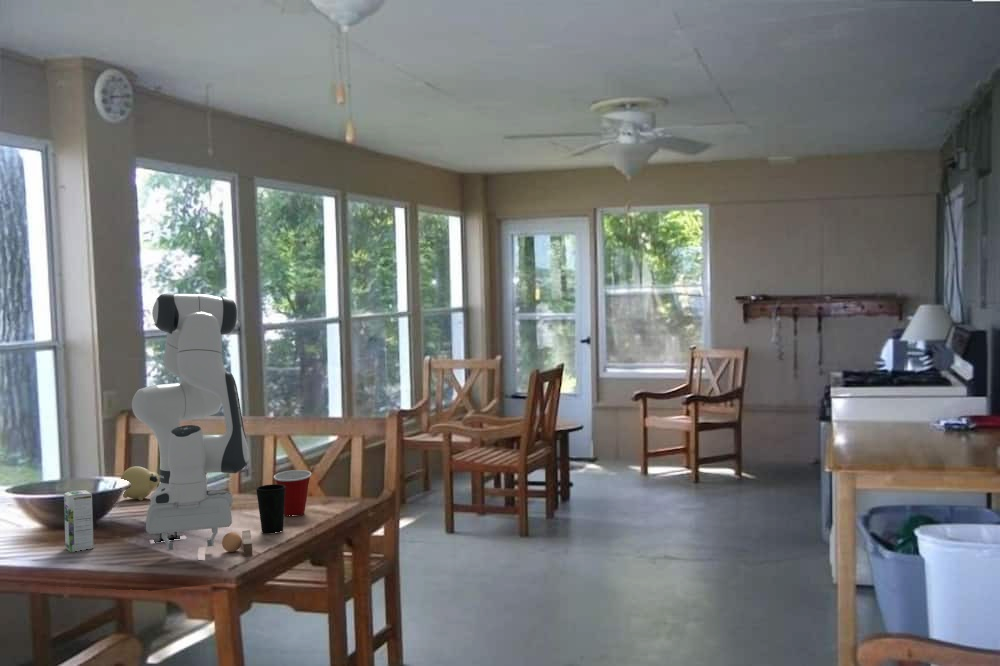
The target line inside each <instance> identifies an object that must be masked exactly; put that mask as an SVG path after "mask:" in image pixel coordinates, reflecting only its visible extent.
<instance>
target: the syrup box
mask: <svg viewBox="0 0 1000 666" xmlns="http://www.w3.org/2000/svg"><path fill="white" fill-rule="evenodd" d="M63 501H64V503H63V504H64V506H63V508H64V509H63V510H64V511H63V512H64V536H65V537H64V540H65V544H64V545H65V549H66V550H68V552H69V553H75V551H77V552H81V551H80V550H82V551H86V549H88V550H93V549H94V548H95V547H94V545H95V544H94V521H93V519H94V516H93V513H94V512H93V511H94V510H93V493H92V492H89V491H88V490H85V489H84V490H71V491H67V492H65V493H64V494H63ZM92 548H93V549H92Z"/></svg>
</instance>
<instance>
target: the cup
mask: <svg viewBox="0 0 1000 666" xmlns="http://www.w3.org/2000/svg"><path fill="white" fill-rule="evenodd" d="M285 488H286V487H285V486H284V485H279V484H277V483H274V484H264V485H260V486H258V487H256V498H257V504H258V512H259V518H260V519H259V521H260V527H261V533H262V532H263V533H262V534H264V533H275V532H280V531H282V532H283V531H284V520H285V515H284V506H285ZM280 533H281V532H280ZM275 534H276V533H275Z"/></svg>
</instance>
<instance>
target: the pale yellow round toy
mask: <svg viewBox="0 0 1000 666" xmlns="http://www.w3.org/2000/svg"><path fill="white" fill-rule="evenodd" d="M120 479H124V480H127V481H129V482H130V483H131V487H130V488H128V489H127V490H126V491H125V492H124V494H123V493H122V497H123V498H124V499H126V498H130V499H136V500H138V501H143V500H144V498H147V497H148V496H149V495H151V494H152V491H153V490H155V489H156V488H157V487H158V486H159V485H160V483H161V482H160V478H159V473H158V472H157V471H150V470H149V469H147V468H145V467H142V466H138V465H137V466H136V465H135V466H130V467H128V468H127V469H126V470H125V471H124V472H123V473H122V475H121V477H120Z"/></svg>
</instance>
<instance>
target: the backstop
mask: <svg viewBox="0 0 1000 666" xmlns="http://www.w3.org/2000/svg"><path fill="white" fill-rule="evenodd" d="M241 531H242V532H241V533H242V534H241V536H242V537H241V539H242V549H243V551H244V552H243V551H242V552H243V557H252V556H253V540H252V533H251V529H247V530H241Z"/></svg>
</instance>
